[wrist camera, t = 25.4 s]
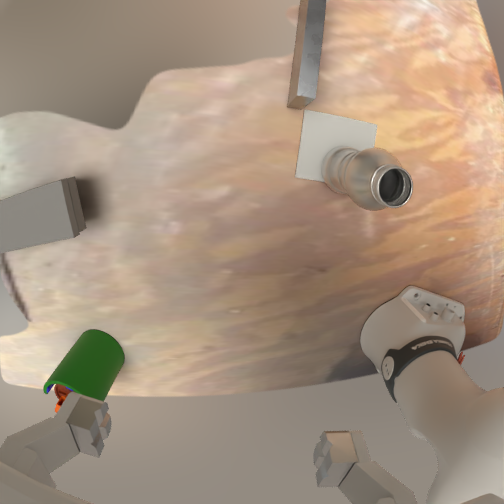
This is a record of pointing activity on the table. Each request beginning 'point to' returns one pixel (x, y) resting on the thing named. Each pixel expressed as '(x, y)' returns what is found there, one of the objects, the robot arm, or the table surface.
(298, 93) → the panel
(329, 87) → the table surface
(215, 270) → the table surface
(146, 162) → the table surface
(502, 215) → the table surface
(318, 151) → the rubber pad
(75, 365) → the motor
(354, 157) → the plastic bottle
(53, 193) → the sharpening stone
